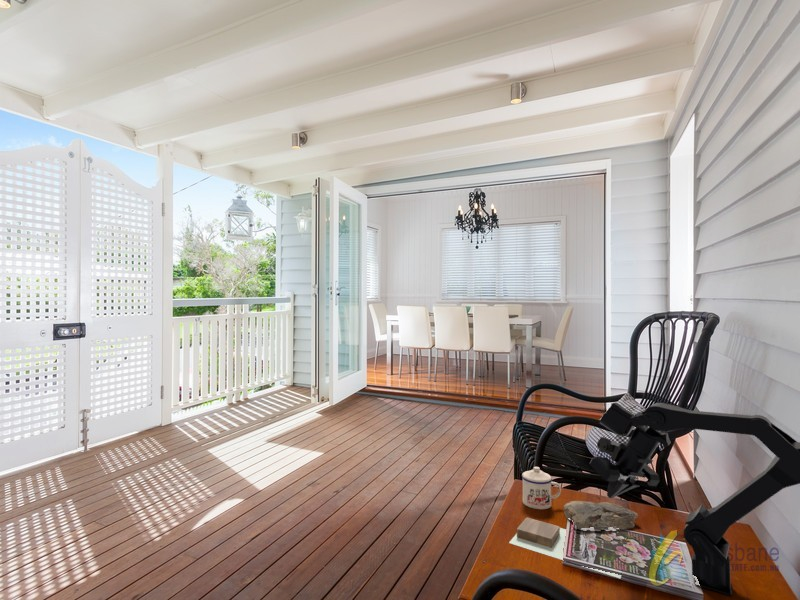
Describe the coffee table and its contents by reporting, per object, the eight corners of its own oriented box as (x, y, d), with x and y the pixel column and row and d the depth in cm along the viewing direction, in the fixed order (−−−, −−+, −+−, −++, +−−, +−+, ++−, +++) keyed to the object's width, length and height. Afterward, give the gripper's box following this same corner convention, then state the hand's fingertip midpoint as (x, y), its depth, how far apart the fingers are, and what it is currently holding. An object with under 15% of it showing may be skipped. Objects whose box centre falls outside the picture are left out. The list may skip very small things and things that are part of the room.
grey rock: (624, 513, 129) (558, 510, 130) (624, 497, 129) (558, 494, 130) (650, 538, 115) (575, 535, 116) (650, 520, 115) (576, 517, 116)
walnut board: (559, 526, 114) (526, 517, 119) (551, 539, 108) (516, 528, 113) (559, 534, 114) (526, 525, 119) (551, 547, 108) (516, 537, 113)
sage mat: (629, 549, 108) (629, 547, 108) (620, 581, 95) (620, 578, 95) (528, 521, 123) (528, 519, 123) (508, 545, 110) (508, 542, 110)
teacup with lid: (525, 510, 130) (525, 472, 130) (519, 498, 139) (519, 462, 139) (565, 512, 129) (565, 473, 129) (556, 499, 138) (556, 463, 138)
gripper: (640, 431, 116) (612, 476, 120) (590, 423, 109) (562, 471, 113) (674, 460, 106) (643, 508, 110) (622, 453, 99) (590, 504, 103)
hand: (609, 496), depth 109 cm, fingers closed
